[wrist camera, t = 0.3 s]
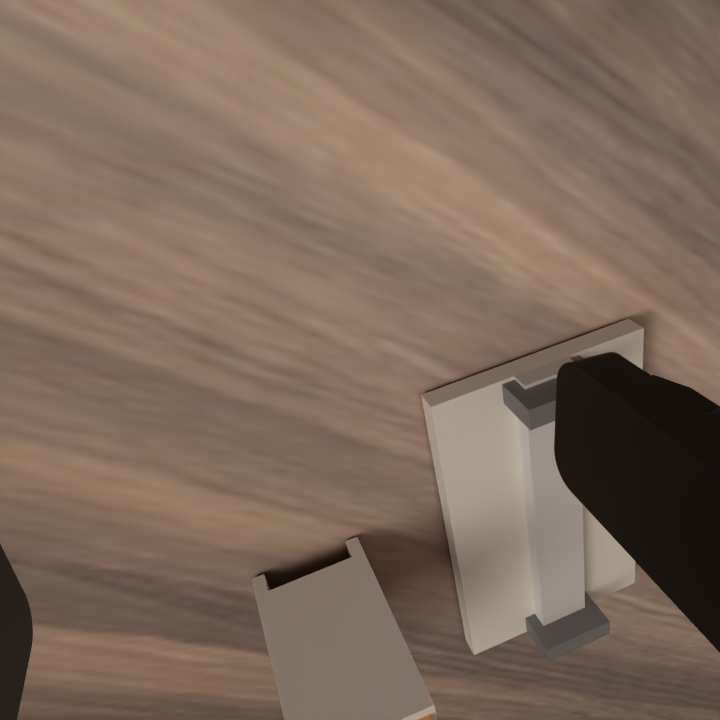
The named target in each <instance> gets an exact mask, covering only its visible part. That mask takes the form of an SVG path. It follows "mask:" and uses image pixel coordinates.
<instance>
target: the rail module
mask: <svg viewBox="0 0 720 720" xmlns="http://www.w3.org/2000/svg"><path fill="white" fill-rule="evenodd" d="M345 543H346V546H347V549H348V553H349V556H350V558H348V559H346V560H343V561H341V562H338V563H336V564H333V565H331V566H328V567H326V568H324V569H321V570H319V571H316V572H314V573H311V574H309V575H306V576H304V577H301V578H299V579H297V580H294V581H292V582H289V583H287V584H284V585H282V586H279V587H277V588H274V589H272V590H270V587H269V585H268V583H267V580H266V578H265V575H264V574H263V575H260V576H258V577H255V578H253V579H251V580H252V584H253V589H254V593H255V597H256V601H257V606H258V610H259V614H260V618H261V623H262V627H263V631H264V635H265V640H266V644H267V648H268V653H269V657H270V661H271V665H272V670H273V674H274V678H275V682H276V687H277V691H278V695H279V699H280V704H281V708H282V712H283V716H284V720H438V719H437V715H436V711H435V707H434V704H433V702H432V699H431V697H430V695H429V693H428V691H427V688H426V686H425V684H424V682H423V680H422V677H421V675H420V673H419V671H418V669H417V667H416V664H415V662H414V660H413V658H412V656H411V653H410V651H409V649H408V647H407V645H406V642H405V640H404V638H403V636H402V634H401V632H400V629H399V627H398V625H397V623H396V621H395V618H394V616H393V614H392V612H391V610H390V607H389V605H388V603H387V601H386V599H385V596H384V594H383V592H382V590H381V588H380V586H379V583H378V581H377V579H376V577H375V575H374V572H373V570H372V568H371V566H370V564H369V561H368V559H367V557H366V555H365V553H364V550H363V548H362V546H361V544H360V542H359V540H358V537H355V538H352V539H350V540H347V541H345Z"/></svg>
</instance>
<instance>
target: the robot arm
mask: <svg viewBox="0 0 720 720" xmlns="http://www.w3.org/2000/svg"><path fill="white" fill-rule="evenodd" d="M554 454H555V460H556V464H557V468H558V471H559V473H560V475H561V478H562V480H563V481H564V483H565V485H566V486H567V488H568V489H569V490H570V491H571V492H572V493H573V495H574V496H575V497H576V498H577V499H578V500H579V501H580V502H581V503H582V504H583V505H584V506H585V508H586V509H587V510H588V511H589V512H590V513H591V514H592V515H593V516H594V517H595V518H596V519H597V520H598V522H599V523H600V524H601V525H602V526H603V527H604V528H605V529H606V530H607V531H608V532H609V533H610V535H611V536H612V537H613V538H614V539H615V540H616V541H617V542H618V543H619V544H620V545H621V546H622V547H623V549H624V550H625V551H626V552H627V553H628V554H629V555H630V556H631V557H632V558H633V559H634V560H635V561H636V563H637V564H638V565H639V566H640V567H641V568H642V569H643V570H644V571H645V572H646V573H647V574H648V576H649V577H650V578H651V579H652V580H653V581H654V582H655V583H656V584H657V585H658V586H659V587H660V588H661V590H662V591H663V592H664V593H665V594H666V595H667V596H668V597H669V598H670V599H671V600H672V601H673V603H674V604H675V605H676V606H677V607H678V608H679V609H680V610H681V611H682V612H683V613H684V614H685V615H686V617H687V618H688V619H689V620H690V621H691V622H692V623H693V624H694V625H695V626H696V627H697V628H698V630H699V631H700V632H701V633H702V634H703V635H704V636H705V637H706V638H707V639H708V640H709V641H710V642H711V644H712V645H713V646H714V647H715V648H716V649H717V650H718V651H719V652H720V407H719V406H718V405H716V404H715V403H713V402H712V401H710V400H709V399H707V398H706V397H704V396H702V395H701V394H699V393H698V392H696V391H695V390H693V389H692V388H689V387H687V386H684V385H681V384H678V383H675V382H672V381H669V380H667V379H664V378H661V377H658V376H655V375H652V376H651V375H650V374H648V373H647V372H645V371H644V370H642V369H641V368H639V367H638V366H636V365H635V364H633V363H632V362H630V361H629V360H627V359H626V358H624V357H623V356H621V355H620V354H618V353H615V352H607V353H603V354H599V355H595V356H591V357H587V358H583V359H579V360H575V361H571V362H567V363H564V364H563V365H562V366H561V367H560V369H559V371H558V374H557V384H556V410H555V437H554ZM32 638H33V628H32V617H31V612H30V607H29V603H28V600H27V598H26V595H25V593H24V591H23V589H22V587H21V585H20V583H19V581H18V579H17V577H16V575H15V573H14V571H13V569H12V567H11V565H10V563H9V561H8V559H7V557H6V555H5V553H4V551H3V549H2V547H1V545H0V720H17V716H18V711H19V706H20V701H21V697H22V692H23V687H24V682H25V677H26V672H27V667H28V662H29V657H30V652H31V647H32Z"/></svg>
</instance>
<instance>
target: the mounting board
mask: <svg viewBox="0 0 720 720" xmlns="http://www.w3.org/2000/svg"><path fill="white" fill-rule="evenodd" d="M643 345H644V327H642V326H640V325H639V324H637V323H635V322H634V321H632V320H630V319H626V320H623V321H621V322H618V323H615V324H613V325H610V326H607V327H604V328H602V329H599V330H596V331H593V332H591V333H588V334H585V335H583V336H580V337H577V338H574V339H572V340H569V341H566V342H564V343H561V344H558V345H555V346H553V347H550V348H547V349H544V350H542V351H539V352H536V353H534V354H531V355H528V356H525V357H523V358H520V359H517V360H515V361H512V362H509V363H506V364H504V365H501V366H498V367H495V368H493V369H490V370H487V371H485V372H482V373H479V374H476V375H474V376H471V377H468V378H466V379H463V380H460V381H457V382H455V383H452V384H449V385H446V386H444V387H441V388H438V389H436V390H433V391H430V392H427V393H425V394H422V395H421V397H422V402H423V408H424V413H425V419H426V424H427V430H428V435H429V441H430V446H431V452H432V457H433V463H434V468H435V474H436V479H437V485H438V490H439V496H440V501H441V506H442V512H443V517H444V523H445V528H446V534H447V539H448V545H449V550H450V556H451V561H452V567H453V572H454V578H455V583H456V589H457V594H458V600H459V605H460V611H461V616H462V622H463V627H464V633H465V638H466V641H467V643H468V645H469V646H470V648H471V650H472V652H473V654H474V655H475V654H478V653H480V652H482V651H484V650H486V649H489V648H491V647H493V646H495V645H498V644H500V643H502V642H504V641H506V640H509V639H511V638H513V637H515V636H518V635H520V634H522V633H524V632H526V631H528V632H529V634H530V636H531V637H532V639H533V640H534V642H535V643H536V645H537V646H538V648H539V649H540V651H541V652H542V654H543V655H544V657H545V658H546V660H547V661H548V662H549V661H551V660H553V659H555V658H557V657H559V656H562V655H564V654H566V653H568V652H570V651H572V650H575V649H577V648H579V647H581V646H583V645H585V644H587V643H590V642H592V641H594V640H596V639H598V638H600V637H603V636H605V635H607V634H609V626H610V621H609V620H608V619H607V618H606V616H605V615H604V614H603V613H602V612H601V610H600V609H599V608H598V607H597V605H596V604H595V603H594V602H593V601H595V600H597V599H600V598H602V597H604V596H606V595H609V594H611V593H613V592H615V591H617V590H620V589H622V588H624V587H626V586H629V585H631V584H633V583H635V560H634V559H633V558H632V557H631V556H630V555H629V554H628V553H627V552H626V551H625V550H624V549H623V547H622V546H621V545H620V544H619V543H618V542H617V541H616V540H615V539H614V538H613V537H612V536H611V535H610V533H609V532H608V531H607V530H606V529H605V528H604V527H603V526H602V525H601V524H600V523H599V522H598V520H597V519H596V518H595V517H594V516H593V515H592V514H591V513H590V512H589V511H588V510H587V509H586V508H585V506H584V505H583V504H582V503H581V502H580V501H579V500H578V499H577V498H576V497H575V496H574V495H573V493H572V492H571V491H570V490H569V489H568V488H567V486H566V485H565V483H564V481H563V480H562V478H561V475H560V473H559V471H558V468H557V464H556V460H555V454H554V437H555V410H556V384H557V374H558V371H559V369H560V367H561V366H562V365H563V364H564V363H567V362H571V361H575V360H579V359H583V358H587V357H591V356H595V355H599V354H603V353H607V352H615V353H618V354H620V355H621V356H623V357H624V358H626V359H627V360H629V361H630V362H632V363H633V364H635V365H636V366H638V367H639V368H641V369H642V370H643Z"/></svg>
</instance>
